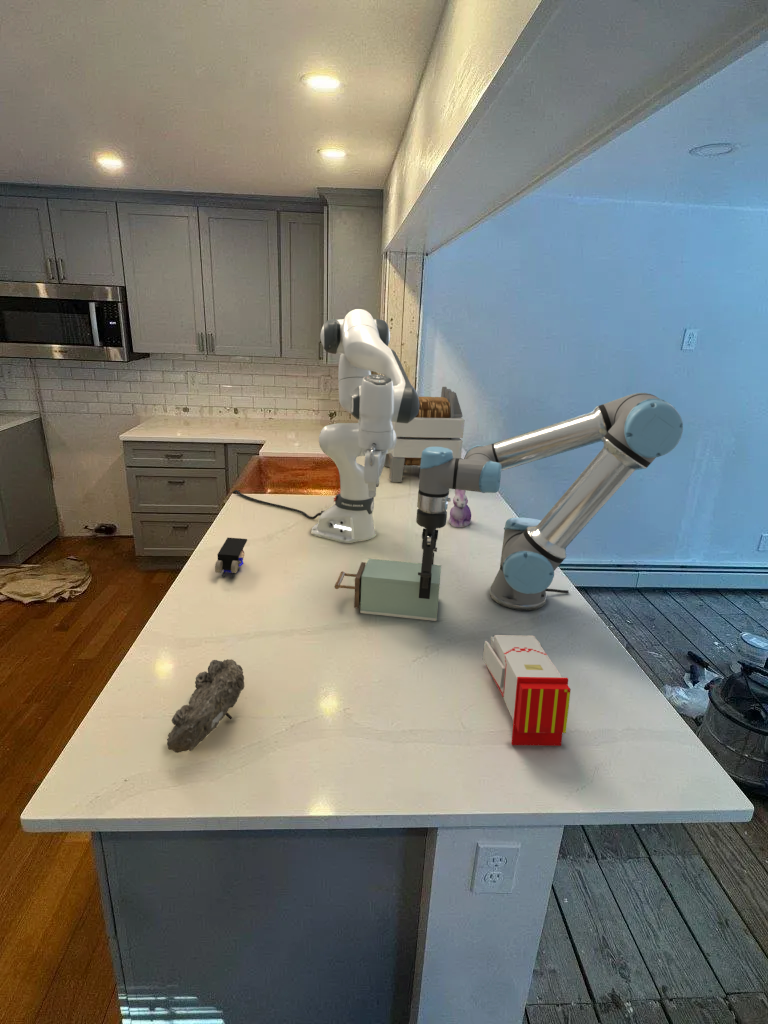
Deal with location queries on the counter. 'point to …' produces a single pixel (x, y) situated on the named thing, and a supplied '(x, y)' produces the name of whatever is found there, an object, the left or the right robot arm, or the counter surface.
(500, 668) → the toy
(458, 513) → the figurine
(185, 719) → the fossil
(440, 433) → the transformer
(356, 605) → the drawer
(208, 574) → the counter surface
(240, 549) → the figurine character
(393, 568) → the cabinet
